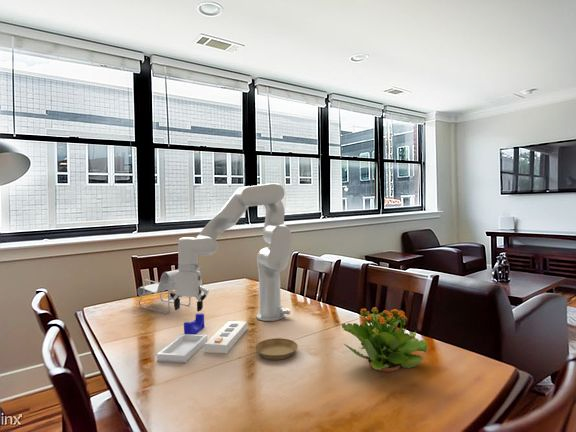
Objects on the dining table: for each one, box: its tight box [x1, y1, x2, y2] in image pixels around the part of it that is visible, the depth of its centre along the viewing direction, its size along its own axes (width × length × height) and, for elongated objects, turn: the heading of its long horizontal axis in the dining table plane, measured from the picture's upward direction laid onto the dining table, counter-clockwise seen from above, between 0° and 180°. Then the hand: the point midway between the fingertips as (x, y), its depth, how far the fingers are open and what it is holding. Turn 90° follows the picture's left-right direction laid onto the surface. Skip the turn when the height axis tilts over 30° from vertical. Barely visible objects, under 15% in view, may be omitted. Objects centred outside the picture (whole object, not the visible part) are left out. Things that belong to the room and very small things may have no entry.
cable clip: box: [183, 312, 205, 335], centre depth 146 cm, size 12×4×6 cm, turn 169°
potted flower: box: [341, 306, 428, 373], centre depth 112 cm, size 25×24×18 cm
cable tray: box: [156, 333, 208, 364], centre depth 127 cm, size 10×18×2 cm, turn 169°
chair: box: [137, 269, 191, 314], centre depth 183 cm, size 13×25×20 cm, turn 57°
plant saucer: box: [254, 337, 298, 361], centre depth 124 cm, size 15×15×3 cm
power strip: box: [204, 320, 248, 354], centre depth 137 cm, size 8×24×4 cm, turn 169°
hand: (188, 309), depth 145 cm, fingers open, 9 cm apart
